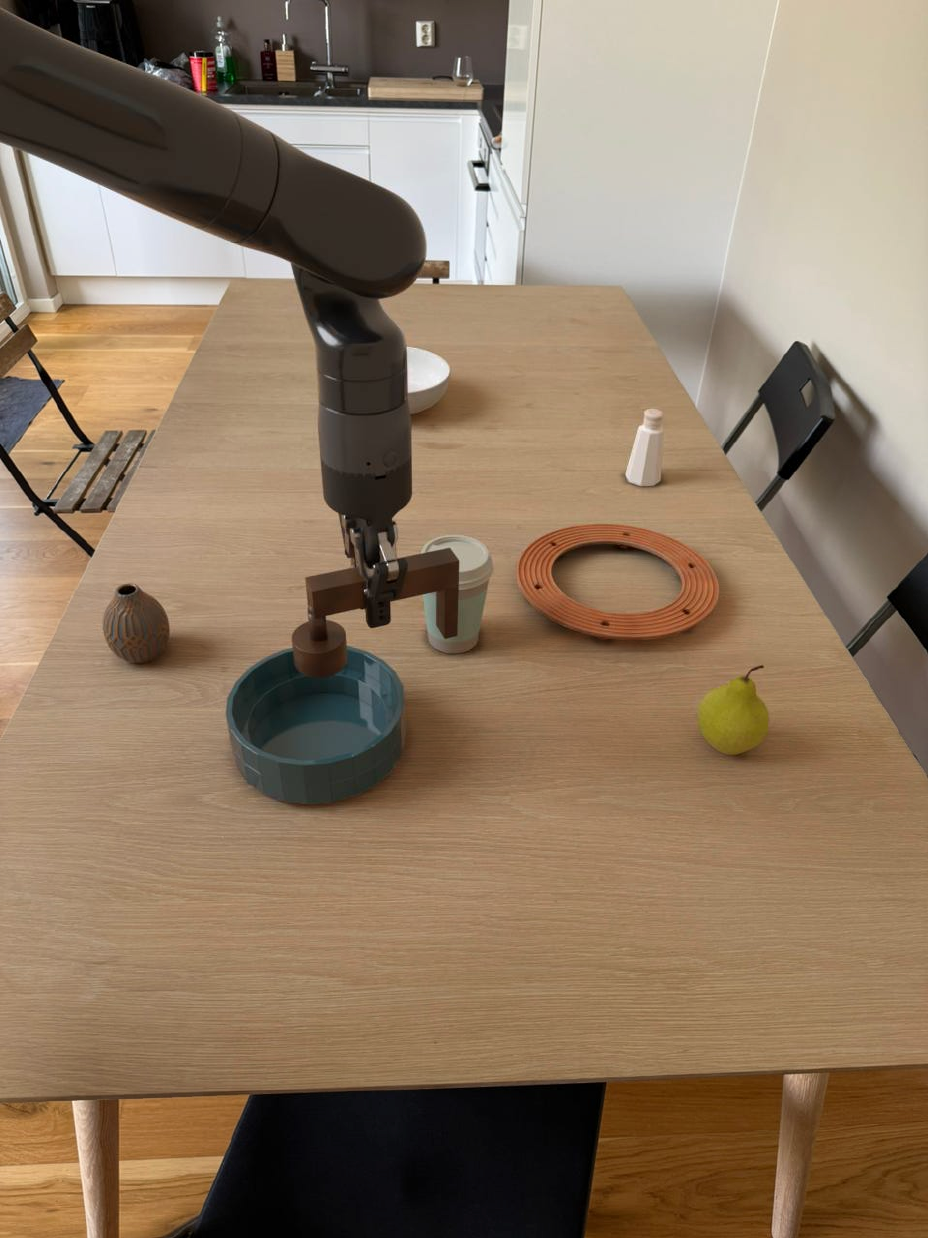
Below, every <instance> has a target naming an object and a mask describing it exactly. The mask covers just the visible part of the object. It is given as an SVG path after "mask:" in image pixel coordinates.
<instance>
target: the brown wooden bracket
mask: <svg viewBox="0 0 928 1238" xmlns="http://www.w3.org/2000/svg"><path fill="white" fill-rule="evenodd" d="M403 557H404V558H405V559H406V561H407V563H408V570H407V574H406V577H405V581H404V584H403V588H402V592H401V595H400V598H398V599H391V600H390V603H391V602H396V601H400V600H405V599H409V598H413V597H419V596H423V594H428V593H432V592H436V626H437V628H438V629H439V631H440V632H441V634H442V636H443V637H444V639H447V638H451V637H455V636H457V634H458V598H459V559H458V558H457V557H456V555H455V554H454V552H453V551H452V550H451V548H445V549H441V550H436V551H431V552H426V553H421V552H420V553H416V554H411V555H406V556H403ZM403 557H401V558H403ZM399 558H400V557H397V559H399ZM372 578H373V576H372ZM372 578H371V580H372ZM304 580H305V581H304V582H305V591H306V600H307V601H306V602H307V605H308V606H307V619H308V621H306V622H303V623H302V624H299V626H297V627H296V628H295V629H294V630H293V632H292V634H291V646H292V647H291V648H293V655H294V663H295V667H296V668H297V670H298V671H299V672H300V673H302V674H304V675H306V676H309V677H314V678H323V677H329V676H332V675H334V674H336V673H338V672H340V671H341V670H342V669H343V668H344V667H345V666H346V664H347V661H348V656H347V646H348V643H347V633H346V630H345V628H344V627H343V626H342V625H341V624H340V623H338V622H336V621H333V620H329V619H327V617H328V616H333V615H337V614H341V613H346V612H350V611H351V612H352V611H354V610H361V609H360V608H365V595H364V592H363V589H364V585H363V577H362V576H361V575H360V573H359V572H358V570H357V569H356V567H353V568H351V567H348V568H344V569H338V570H334V571H329V572H323V573H319V574H314V575H310V576H305V577H304Z"/></svg>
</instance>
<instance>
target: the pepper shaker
mask: <svg viewBox="0 0 928 1238" xmlns="http://www.w3.org/2000/svg"><path fill="white" fill-rule="evenodd" d="M663 418H664V412H663V411H662V410H659V409H657V408H649V409H646V410H645V411H644V412H643V422H642V424H641V425H639V426H638V428H637V431H636V435H635V437H634V438H635V439H634V442H633V446H632V449H631V453H630V457H629V460H628V464H627V468H626V470H625V477H626V479H627V481H628V482H629V483H631V484H633V485H635V486H638V487H641V488H642V487H654V486H656V485H657V484H658V483H659V482H660V483H661V480H662V469H663V468H662V466H663V453H664V452H663V451H664V437H665V430H664V428H663V426H662V423H663Z"/></svg>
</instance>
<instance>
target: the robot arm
mask: <svg viewBox="0 0 928 1238" xmlns="http://www.w3.org/2000/svg"><path fill="white" fill-rule="evenodd" d="M0 143H1V144H3V145H6V146H7V147H11V148H14V149H16V150H18V151H21V152H23V153H27V154H29V155H32V156H34V157H36V158H38V159H40V160H43V161H45V162H48V163H50V164H51V165H54V166H57V167H60V168H62V169H64V170H65V171H69V172H70V173H73V174H75V175H77V176H79V177H82V178H83V179H86V180H88V181H91V182H93V183H94V184H98V185H99V186H101V187H104V188H105V189H108V190H110V191H112V192H115V193H116V194H119V195H120V196H123V197H125V198H127V199H129V200H132V201H134V202H135V203H137V204H140V205H142V206H144V207H147V208H149V209H150V210H153V211H155V212H158V213H160V214H162V215H163V216H166V217H168V218H171V219H173V220H174V221H175V220H176V221H178V222H179V223H183V224H185V225H188V226H190V227H193V228H195V229H197V230H200V231H202V232H205V233H207V234H209V235H211V236H214V237H217V238H219V239H222V240H224V241H227V242H229V243H232V244H235V245H237V246H240V247H244V248H246V249H251V250H254V251H256V252H257V251H258V252H261V253H264V254H268V255H271V256H274V257H277V258H279V259H282V260H284V261H286V262H288V263H289V264H290V267H291V271H292V276H293V278H294V279H293V280H294V282H295V285H296V289H297V292H298V296H299V300H300V304H301V307H302V310H303V313H304V317H305V320H306V323H307V326H308V328H309V332H310V335H311V337H312V340H313V343H314V348H315V367H316V380H317V392H318V393H317V394H318V412H317V413H318V414H317V435H318V446H319V447H318V449H319V459H320V471H321V482H322V495H323V500H324V502H325V503H326V505H327V506H328V507H329V508H330V509H331V510H333V511H334V512H335V513H337V514H338V518H339V525H340V529H341V535H342V541H343V547H344V554H345V556H346V558H347V559H350V567H349V568H353V567H356V569H357V570H358V572H359V573H360V575H361V576H362V577H363V585H364V589H363V592H364V595H365V608H360V609H359V610H364V611H365V623H366V624H367V626H368V628H370V629H376V628H379V627H384V626H389V625H390V623H391V621H392V612H391V611H392V610H391V608H392V607H391V602H390V600H391V599H398V598H400V595H401V592H402V588H403V584H404V581H405V577H406V574H407V570H408V563H407V561H406V559H405V558H404V557H405V556H403V558H402V557H398V555H397V542H398V540H399V531H398V530H399V529H398V524H397V521H396V520H395V519H393V518H394V517H395V516H396V515H397V514H398V513H399V512H400V511H401V510H403V509H404V508H405V507H407V505H408V504H409V503H410V501H411V499H412V498H413V497H412V496H413V451H412V449H413V446H412V442H413V441H412V418H411V415H410V411H409V405H408V371H407V347H408V346H407V339H406V335H405V333H404V331H403V329H402V328H401V327H400V325H399V324H398V323H397V322H396V321H395V319H394V318H392V317H391V316H390V315H389V314H388V313H387V312H386V310H385V309H384V307H383V306H382V304H381V301H380V300H384V299H390V298H393V297H395V296H398V295H400V294H402V293H403V292H405V291H407V289H409V288H410V287H411V286H412V285H413V284H414V283H415V282H416V281H417V279H418V278H419V277H420V275H421V273H422V271H423V269H424V267H425V263H426V260H427V254H428V253H427V252H428V245H427V243H428V242H427V235H426V231H425V228H424V226H423V223H422V221H421V219H420V217H419V215H418V213H417V212H416V211H415V209H414V208H413V207H412V205H411V204H410V203H409V202H408V201H406V200H405V199H404V198H403V197H401V196H400V195H399V194H397V193H395V192H393V191H391V190H390V189H387V188H385V187H383V186H382V185H379V184H377V183H375V182H373V181H370V180H368V179H366V178H363V177H361V176H359V175H356V174H354V173H352V172H349V171H347V170H345V169H342V168H340V167H337V166H335V165H333V164H331V163H329V162H326V161H323V160H321V159H318V158H316V157H314V156H312V155H310V154H308V153H306V152H304V151H302V150H301V149H299V148H297V147H296V146H294V145H292V144H291V143H289V142H287V141H286V140H284V139H283V138H282V137H281V136H279V135H277V134H275V133H274V132H273V131H271V130H269V129H267V128H265V127H263V126H261V125H260V124H258V123H256V122H255V121H252V120H251V119H248V118H247V117H244V115H241V114H239V113H237V112H235V111H233V110H232V109H230V108H228V107H226V106H224V105H222V104H220V103H218V102H216V101H214V100H212V99H210V98H208V97H206V96H204V95H202V94H200V93H198V92H195V91H194V90H192V89H189V88H187V87H184V86H182V85H180V84H177V83H175V82H173V81H170V80H168V79H165V78H163V77H161V76H158V75H156V74H153V73H151V72H149V71H145V70H143V69H141V68H138V67H135V66H133V65H130V64H127V63H124V62H123V61H120V60H118V59H115V58H112V57H110V56H107V55H104V54H101V53H99V52H96V51H95V50H92V49H89V48H87V47H85V46H82V45H79V44H77V43H75V42H72V41H71V40H68V39H65V38H63V37H61V36H58V35H56V34H54V33H52V32H50V31H48V30H46V29H44V28H42V27H40V26H37V25H35V24H34V23H31V22H29V21H27V20H25V19H23V18H21V17H19V16H17V15H15V14H14V13H12V12H10V11H8V10H6V9H4V8H3V7H0ZM397 558H399V559H397ZM372 576H373V578H372ZM371 578H372V580H371Z"/></svg>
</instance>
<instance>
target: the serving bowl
mask: <svg viewBox="0 0 928 1238" xmlns="http://www.w3.org/2000/svg"><path fill="white" fill-rule="evenodd" d="M407 371H408V405H409V411H410V416H411V415H414V414H418V413H420V412H423V411H425V410H428V409H429V408H431V407H433V406H434V405H435V404H437V403H438V402H439V401H440V400H441V399H442V398H443V396H444V395H445V393H446V391H447V389H448V386H449V384H450V379H451V373H452V369H451V365H450V364H449V363H448V362H447V361H446V360H445V359H444V358H443V357H441V356H440V355H438V354H436V353H434V352H432V351H428V350H425V349H421V348H418V347H412V346H407Z"/></svg>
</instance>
